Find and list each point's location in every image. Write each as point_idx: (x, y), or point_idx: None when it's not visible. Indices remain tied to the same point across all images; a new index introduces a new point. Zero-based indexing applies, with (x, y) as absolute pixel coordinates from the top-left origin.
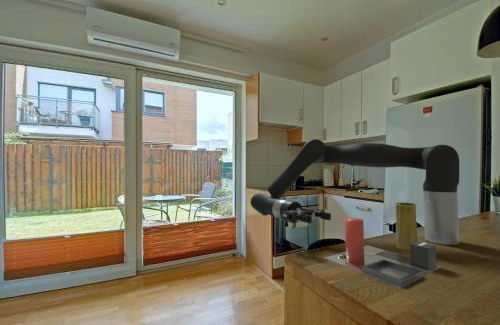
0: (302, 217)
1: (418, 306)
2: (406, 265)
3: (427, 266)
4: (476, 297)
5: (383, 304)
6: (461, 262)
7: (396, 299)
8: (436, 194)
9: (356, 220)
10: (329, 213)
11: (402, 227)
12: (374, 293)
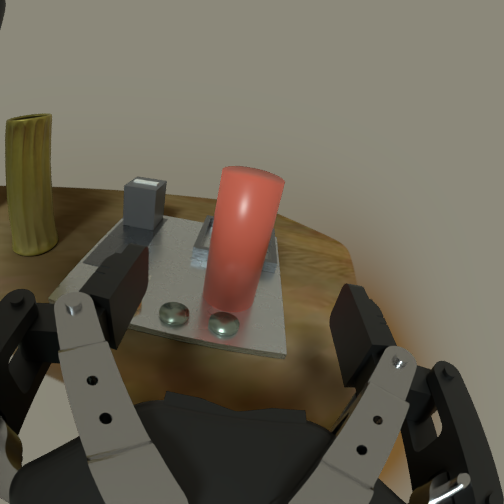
0: (386, 337)
1: (294, 231)
2: (166, 235)
3: (162, 214)
4: (213, 204)
5: (329, 250)
6: (80, 202)
7: (303, 243)
8: None
9: (260, 172)
10: (137, 244)
11: (45, 184)
12: (317, 258)
